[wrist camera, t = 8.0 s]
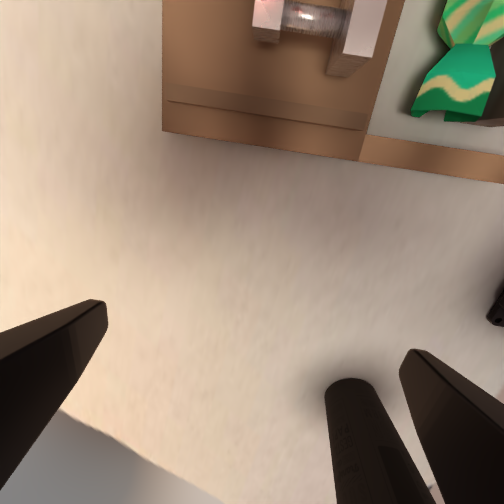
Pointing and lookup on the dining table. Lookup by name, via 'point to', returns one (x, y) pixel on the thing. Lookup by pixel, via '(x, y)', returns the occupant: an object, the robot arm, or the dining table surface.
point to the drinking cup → (369, 450)
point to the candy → (463, 61)
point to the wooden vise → (295, 91)
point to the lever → (325, 28)
